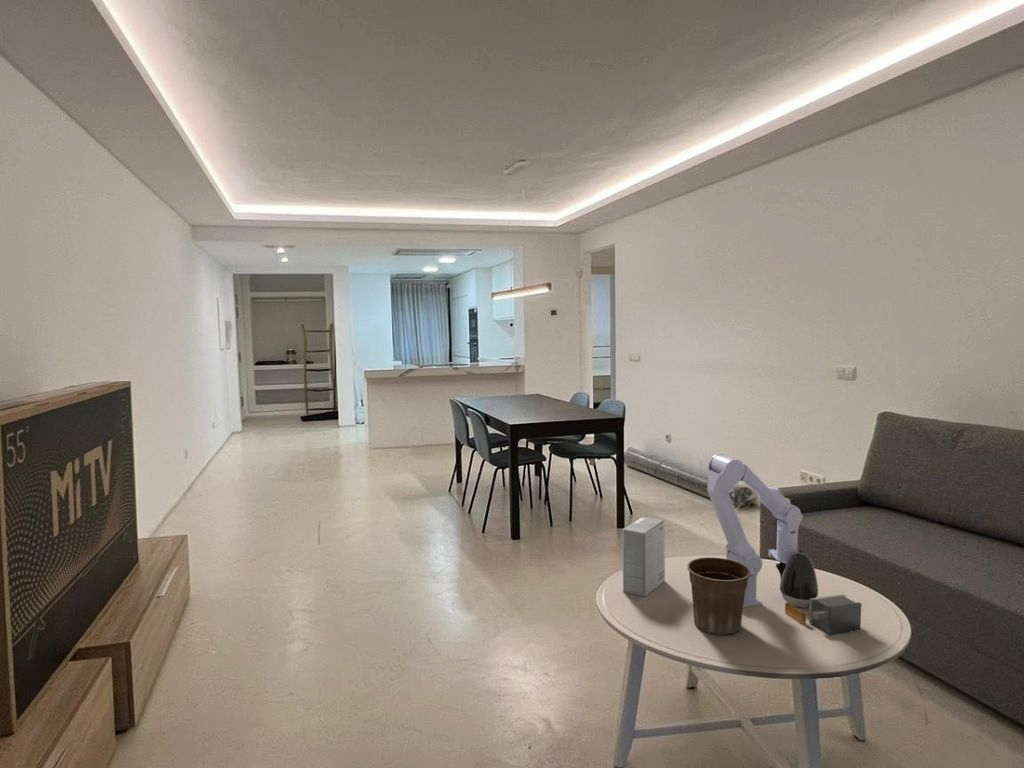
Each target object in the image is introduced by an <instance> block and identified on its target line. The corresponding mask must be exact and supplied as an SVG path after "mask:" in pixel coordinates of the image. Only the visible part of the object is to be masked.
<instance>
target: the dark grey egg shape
mask: <svg viewBox="0 0 1024 768" xmlns="http://www.w3.org/2000/svg"><path fill="white" fill-rule="evenodd" d="M779 590H780V594H781V596H782V598H783V599H784V601H785V603H790V604H792V605H793V606H795V607H797V608H808V607H809V606H810V599H811V598H818V596H819V584H818V579H817V573H816V570H815V566H814V564H813V562H812V560H811V558H810V557H809V556H808V555H807V554H805V553H804V551H803V550H802V549H799V550H798V552H797V553H796V554H794V555H792V556H791V558H790V559H789V560H788V562H787V564H786V566H785V569H784V571H783V574H782V578H781V577H780V582H779Z"/></svg>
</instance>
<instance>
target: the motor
mask: <svg viewBox="0 0 1024 768" xmlns="http://www.w3.org/2000/svg"><path fill="white" fill-rule="evenodd" d="M808 607H809V611H808V613H809V614H808V625H812V626H813V625H815V626H816V627H817V628H819V629H821V630H822V631H824V632H825V633H826V634H828V635H830V636H833V635H838V634H839V635H840V634H845V632H846V633H851V632H850V631H853V632H856V631H855V630H860V631H861V624H862V623H861V622H862V621H861V620H862V603H861V602H859V601H858V602H856V601H853V600H852V599H850V598H848V597H847V595H846V594H844V593H842V594H835V595H827V596H820V597H816V598H811V599H810V606H808ZM784 609H785V610H784V614H785V615H786V616H788V617H789V618H790V619H793V620H794V621H796V622H797V623H799V624H800V625H807V624H806V623H807V613H806V612H805V611H803V610H802V609H800V608H799V607H796V606H793V605H792V604H790V603H787V602H785V606H784Z"/></svg>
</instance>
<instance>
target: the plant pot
mask: <svg viewBox="0 0 1024 768" xmlns="http://www.w3.org/2000/svg"><path fill="white" fill-rule="evenodd" d="M686 566H687V570H688V572H689V573H688V575H689V581H690V585H691V595H692V596H691V597H692V609H693V621H694V622H693V623H694V625H695V626H697V628H699V629H700V631H702V632H705V633H708V634H710V635H717V636H727V635H729V634H731V635H735V634H738V633H739V632H740V631H741V628H742V620H743V619H742V618H743V613H744V612H743V611H744V607H743V604H744V597H745V589H746V588H747V583H748V577H749V576H750V569H749V568H748V567H746V566H745V565H743V564H741V563H739V562H736V561H733V560H729V559H727V558H721V557H713V556H711V557H699V558H695V559H692V560H690V561H689V562H688V563H687V565H686Z"/></svg>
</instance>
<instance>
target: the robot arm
mask: <svg viewBox="0 0 1024 768" xmlns="http://www.w3.org/2000/svg"><path fill="white" fill-rule="evenodd" d="M706 469H707V472H708V477H707V494H708V496H709V498H710V501H711V504H712V506H713V508H714V512H715V513H716V516H717V519H718V521H719V525H720V527H721V530H722V531H723V535H724V537H725V540H726V542H727V543H726V544H725V545H724V548H725V550H726V556H725V557H726V559H729V560H733V561H736V562H739V563H741V564H743V565H745V566H746V567H748V568H749V569H750V576H749V577H748V583H747V588H746V589H745V597H744V604H743V608H745V607H752V606H758V605H759V606H760V605H763V604H764V603H763V601H761V600H759V599H758V598H757V579H758V578H757V577H758V573H760V571H761V570H762V568H763V560H762V558H761V557H760V556H759V555H758V554H757V553H756V551H755V549H754V547H753V546H752V544H750V542H749V541H748V539H747V538H746V537H747V536H746V535H745V532H744V529H743V527H742V524H741V521H740V519H739V516H738V514H737V512H736V508H735V506H734V504H733V501H732V498H731V496H730V492H731V491H732V490H733V489H734V488H735V487H736V485H737V484H738V483H739V482H740V481H741V482H743V483H744V484H745V485H747V486H748V487H749V488H750V489H752V491H754V492H756V494H758V500H759V501H760V503H761V504H762V505H763V506H765V507H766V508H767V509H768V510H769V511H770V512H771V513H772V516H773V518H775V519H776V548H775V549H773V548H772V549H768V557H770V558H772V557H773V558H774V559H775V561H777V562H778V563H776V564H775V567H776V569H777V570H778V572H779V576H780V579H781V578H782V574H783V571H784V569H785V566H786V564H787V562H788V560H789V559H790V558H791V556H792V555H794V554H796V553H798V541H799V539H798V537H799V534H798V533H799V529H800V524H801V522H802V520H803V517H804V516H803V515H804V514H802V512H801V510H800V507H798V506H796V505H793V504H792V503H791V500H790V498H788V497H785V496H784V495H783V494H782V493H781V489H780V488H778V487H773V486H767V485H766V484H765V483H764V482H763V481H762V480H761V479H760V478H759V477H758V476H757V474H756V473H754V472H753V471H752V469H751V468H750V467H749V466H748V465H746V464H744V463H743V461H742V460H740V459H736V458H733V457H730V456H729V457H728V456H726V455H725V454H723V453H716V454H714V455H713V456H712V457H711V458H710V460H709V462H708V464H707V465H706Z"/></svg>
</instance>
